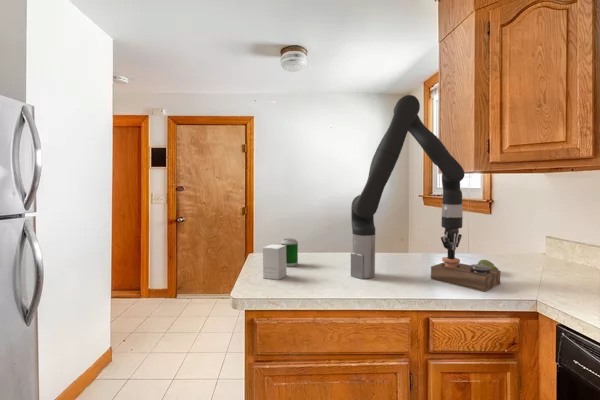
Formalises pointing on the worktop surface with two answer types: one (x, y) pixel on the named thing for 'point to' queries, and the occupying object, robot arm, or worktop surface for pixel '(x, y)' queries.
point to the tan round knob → (451, 262)
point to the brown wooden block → (465, 276)
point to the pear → (487, 264)
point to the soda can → (291, 251)
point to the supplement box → (274, 261)
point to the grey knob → (480, 268)
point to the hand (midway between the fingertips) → (451, 258)
